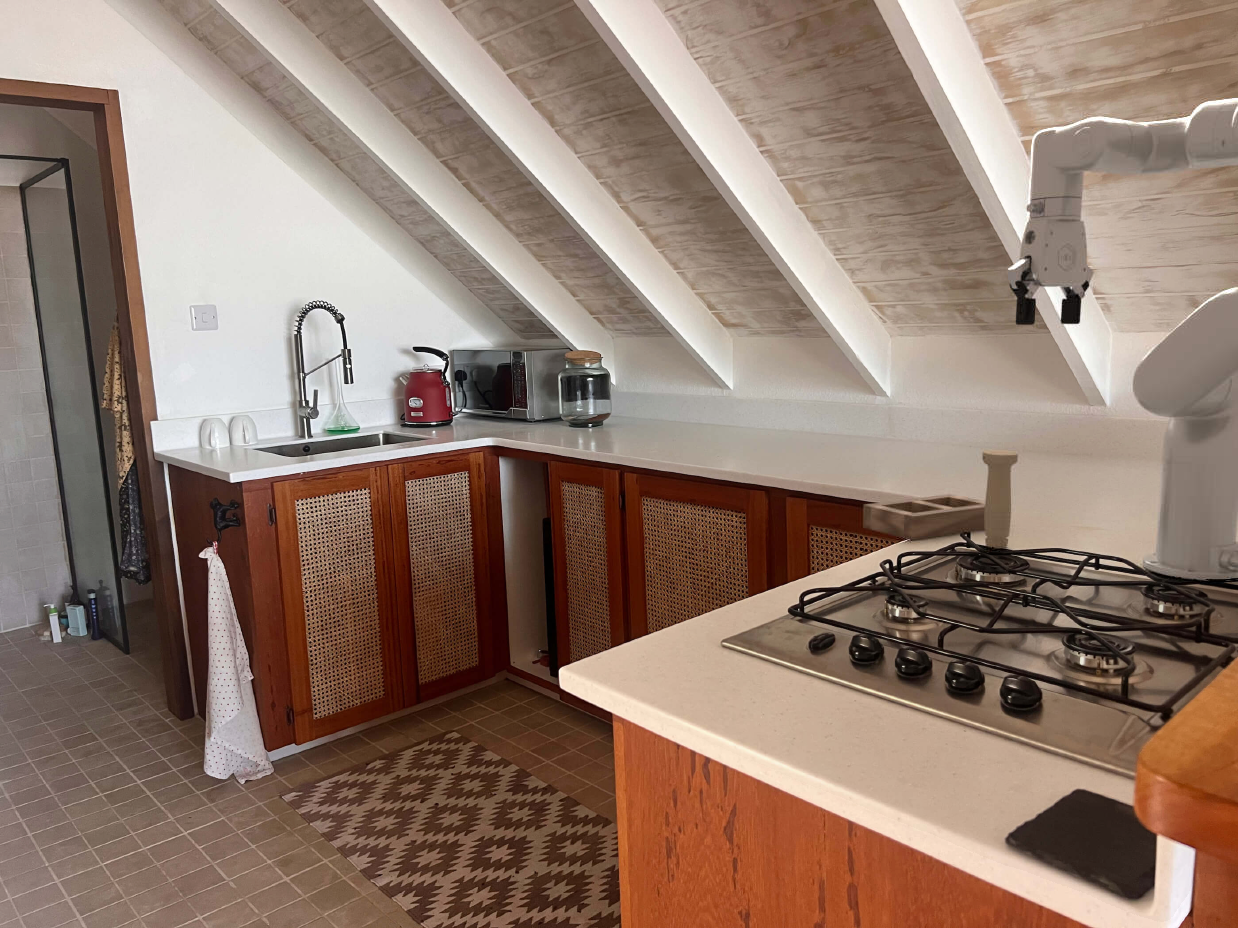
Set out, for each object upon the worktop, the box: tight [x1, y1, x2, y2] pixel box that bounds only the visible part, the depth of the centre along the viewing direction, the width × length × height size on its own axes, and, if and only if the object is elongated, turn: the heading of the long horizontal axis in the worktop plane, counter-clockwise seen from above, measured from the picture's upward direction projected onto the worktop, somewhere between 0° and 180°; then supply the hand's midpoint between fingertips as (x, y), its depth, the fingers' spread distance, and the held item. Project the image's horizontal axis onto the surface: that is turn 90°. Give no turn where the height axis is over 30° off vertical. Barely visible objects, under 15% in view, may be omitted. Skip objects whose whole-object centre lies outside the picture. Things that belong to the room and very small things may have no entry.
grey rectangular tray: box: [862, 493, 985, 541], centre depth 166 cm, size 12×20×4 cm, turn 116°
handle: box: [981, 449, 1019, 549], centre depth 150 cm, size 5×6×15 cm
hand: (1047, 324), depth 150 cm, fingers open, 9 cm apart
